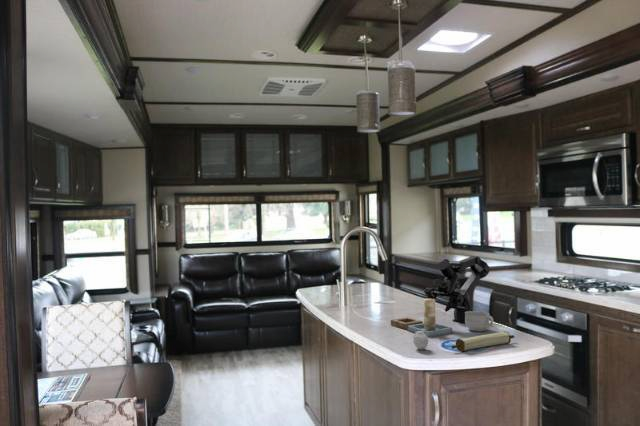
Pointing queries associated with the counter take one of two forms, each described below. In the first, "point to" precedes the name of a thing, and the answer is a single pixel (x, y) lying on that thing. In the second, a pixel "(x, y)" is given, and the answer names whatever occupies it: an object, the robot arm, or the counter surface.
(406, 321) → the socket block
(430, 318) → the dowel
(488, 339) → the rolling pin
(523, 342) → the counter surface
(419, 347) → the grey round lump
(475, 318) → the teacup
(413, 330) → the tray
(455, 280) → the robot arm
